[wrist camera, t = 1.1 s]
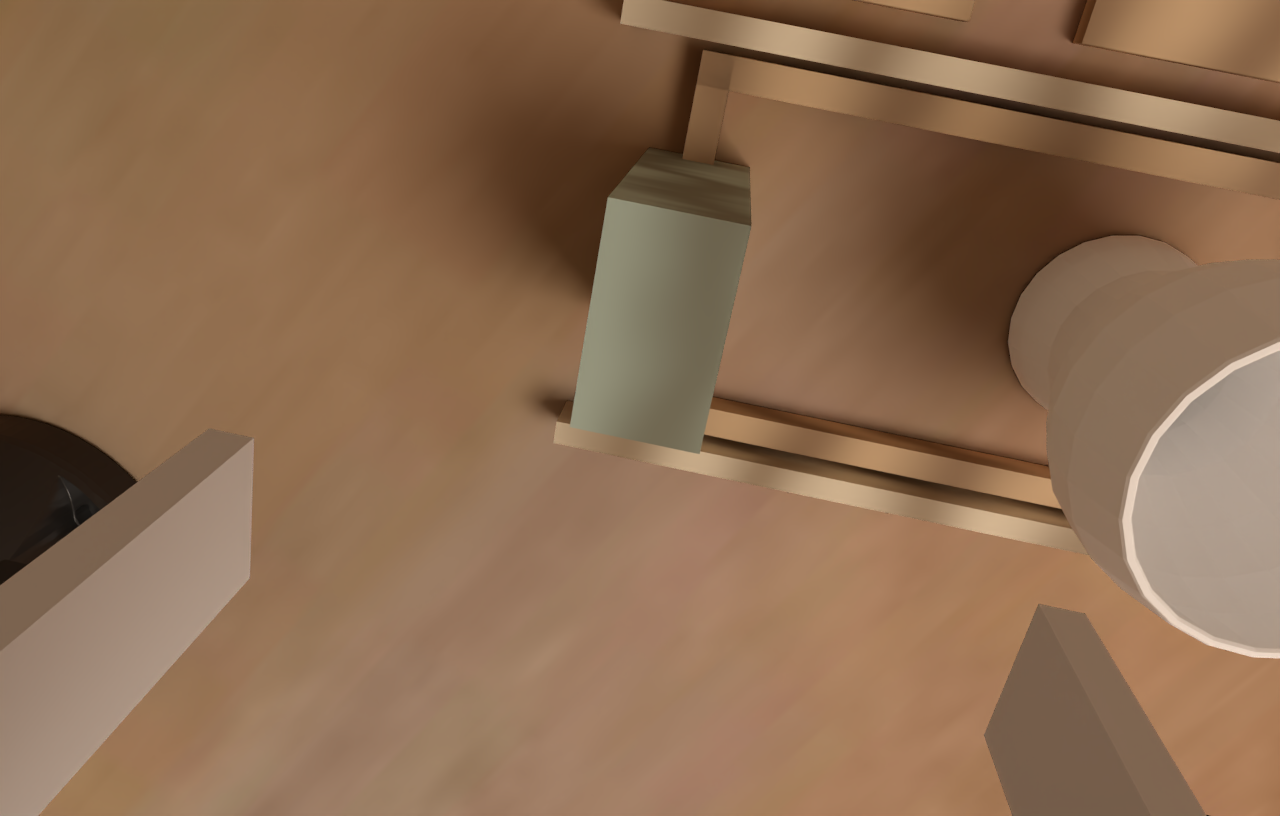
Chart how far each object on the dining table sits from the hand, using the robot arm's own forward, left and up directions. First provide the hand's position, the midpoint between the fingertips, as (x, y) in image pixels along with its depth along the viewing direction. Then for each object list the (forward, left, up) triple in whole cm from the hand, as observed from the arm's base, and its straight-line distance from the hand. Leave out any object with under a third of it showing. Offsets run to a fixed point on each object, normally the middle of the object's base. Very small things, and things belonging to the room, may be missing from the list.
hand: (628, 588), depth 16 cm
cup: (+17, +1, -25) cm, 30 cm away
